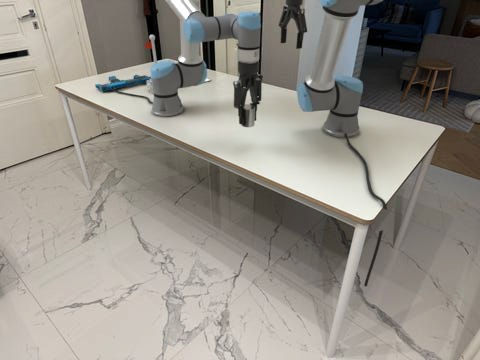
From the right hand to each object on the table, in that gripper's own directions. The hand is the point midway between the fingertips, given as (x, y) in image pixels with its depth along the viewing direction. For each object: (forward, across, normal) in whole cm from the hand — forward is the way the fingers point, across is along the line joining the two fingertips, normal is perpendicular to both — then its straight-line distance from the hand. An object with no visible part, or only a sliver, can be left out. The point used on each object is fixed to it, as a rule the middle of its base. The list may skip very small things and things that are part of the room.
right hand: (290, 45), depth 161 cm
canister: (+20, +33, -40) cm, 56 cm away
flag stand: (+29, -52, -54) cm, 80 cm away
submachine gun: (+29, -74, -70) cm, 106 cm away
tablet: (+29, -68, -34) cm, 81 cm away
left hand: (+18, +33, -40) cm, 55 cm away
